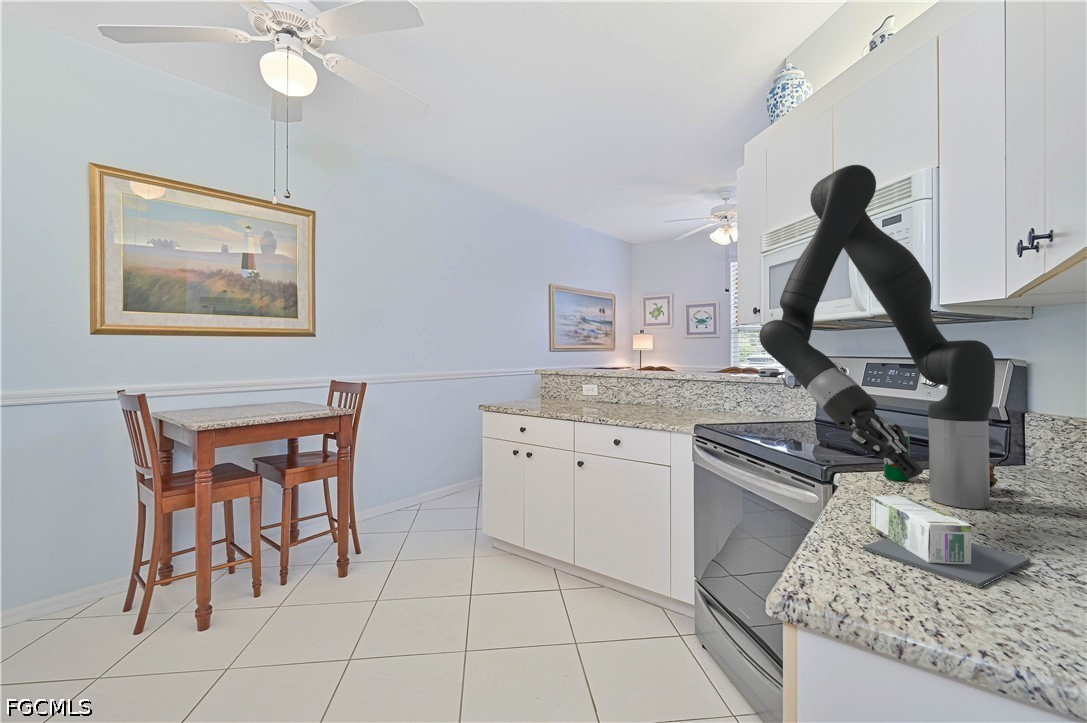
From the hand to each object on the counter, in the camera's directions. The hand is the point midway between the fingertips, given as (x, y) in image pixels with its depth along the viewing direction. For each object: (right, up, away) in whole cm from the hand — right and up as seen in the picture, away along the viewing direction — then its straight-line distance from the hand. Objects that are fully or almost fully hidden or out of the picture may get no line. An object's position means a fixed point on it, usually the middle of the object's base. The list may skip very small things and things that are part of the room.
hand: (916, 475), depth 77 cm
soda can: (+25, -10, +37) cm, 46 cm away
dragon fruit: (+34, -10, +27) cm, 44 cm away
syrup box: (-3, -7, +3) cm, 8 cm away
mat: (-2, -10, -7) cm, 13 cm away
